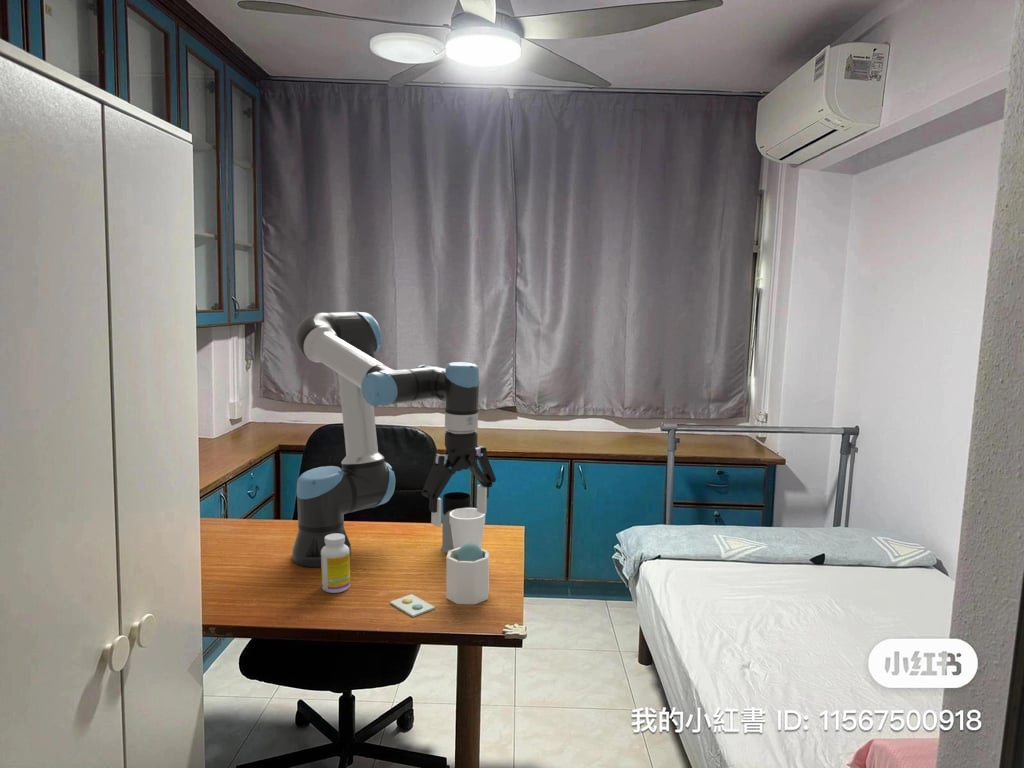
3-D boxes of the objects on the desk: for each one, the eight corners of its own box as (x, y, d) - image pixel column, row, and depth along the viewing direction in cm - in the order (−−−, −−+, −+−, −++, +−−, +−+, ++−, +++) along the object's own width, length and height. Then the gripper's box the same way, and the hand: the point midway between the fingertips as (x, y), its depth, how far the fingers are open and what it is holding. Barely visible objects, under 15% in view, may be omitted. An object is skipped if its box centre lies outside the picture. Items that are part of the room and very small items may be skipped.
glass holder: (441, 555, 191) (441, 501, 189) (439, 536, 205) (439, 486, 203) (473, 553, 192) (473, 500, 190) (470, 535, 206) (470, 485, 204)
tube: (439, 594, 167) (438, 553, 166) (470, 582, 174) (470, 543, 172) (465, 608, 160) (465, 565, 159) (496, 595, 167) (497, 555, 165)
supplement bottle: (356, 587, 170) (355, 536, 169) (333, 596, 165) (331, 543, 164) (339, 579, 175) (337, 529, 173) (316, 588, 170) (314, 536, 168)
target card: (390, 603, 162) (390, 601, 162) (411, 595, 166) (411, 593, 166) (413, 617, 156) (412, 614, 156) (435, 608, 160) (434, 606, 160)
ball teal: (448, 561, 165) (457, 539, 169) (465, 575, 168) (473, 553, 172) (467, 558, 161) (475, 536, 165) (483, 572, 164) (491, 550, 168)
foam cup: (453, 569, 182) (452, 520, 180) (446, 556, 190) (446, 509, 188) (489, 565, 184) (489, 517, 182) (481, 552, 193) (481, 506, 191)
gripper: (426, 441, 152) (425, 535, 155) (512, 426, 169) (509, 511, 172) (406, 434, 157) (405, 525, 161) (491, 420, 174) (489, 503, 178)
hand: (459, 518), depth 167 cm, fingers open, 13 cm apart
